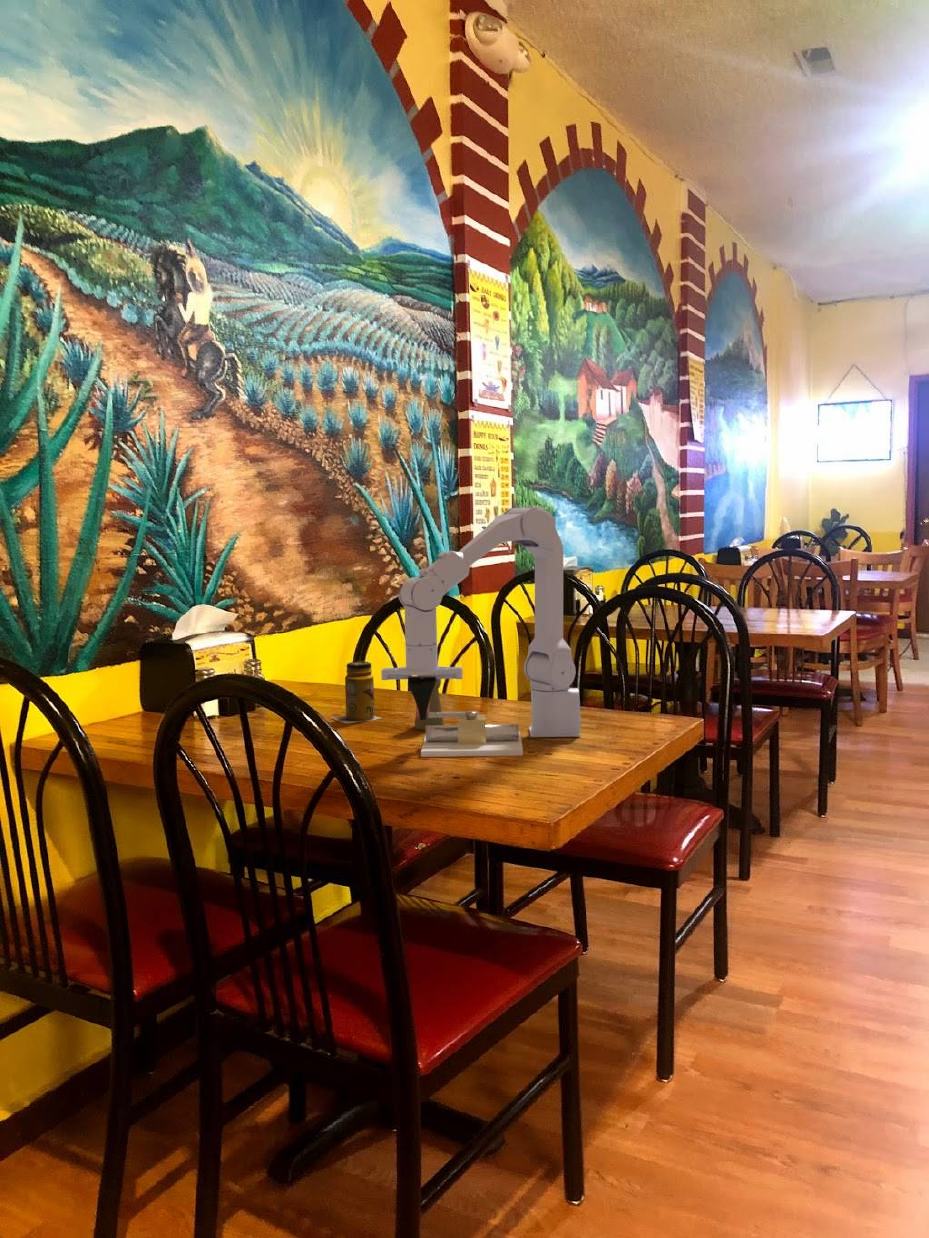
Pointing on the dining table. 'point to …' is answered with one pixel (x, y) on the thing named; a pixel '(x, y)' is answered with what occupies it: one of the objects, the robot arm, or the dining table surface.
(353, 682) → the condiment
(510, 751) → the valve board
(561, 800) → the dining table surface
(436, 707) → the olive tapered post
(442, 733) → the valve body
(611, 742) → the dining table surface
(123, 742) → the dining table surface
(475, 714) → the valve lever
